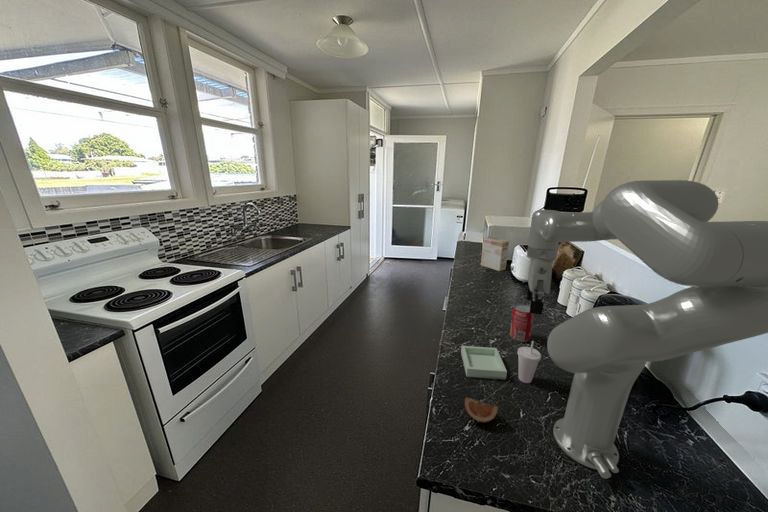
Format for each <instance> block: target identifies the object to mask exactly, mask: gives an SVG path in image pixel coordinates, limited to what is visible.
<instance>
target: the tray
mask: <svg viewBox="0 0 768 512" xmlns="http://www.w3.org/2000/svg"><path fill="white" fill-rule="evenodd" d="M460 348H461V349H460V354H461V358H462V363H463V368H464V371H465V376H466V377H468V378H481V379H491V380H492V379H493V380H507V375H508V374H507V373H508V371H507V369H506V366H505V364H504V362H503V359H502V357H501V354H500V353H499V349H498V348H497V347H486V346H485V347H483V346H470V345H461V347H460Z"/></svg>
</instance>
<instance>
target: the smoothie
mask: <svg viewBox="0 0 768 512" xmlns="http://www.w3.org/2000/svg"><path fill="white" fill-rule="evenodd" d="M534 343H535V341H534V340H531V344H530V346H521V347H518V349H517V353H516V354H517V355H518V358H517V359H518V373H517V374H518V377H517V378H518V380H520V382H521V383H524V384H531V383H532V382H533V378H534V375H535V372H536V370H537V367H538V365H539V362H540V361H541V360H542V354H541V353H540V352H539V351H538V350H537V349H536V348H534Z"/></svg>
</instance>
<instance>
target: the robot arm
mask: <svg viewBox="0 0 768 512" xmlns="http://www.w3.org/2000/svg"><path fill="white" fill-rule="evenodd" d="M718 199H719V198H718V196H717V194H716V193H715V191H714V190H713V189H712V188H710V187H709V186H707V185H706V184H704V183H700V182H697V181H693V180H687V179H685V180H684V179H674V180H673V179H668V180H664V179H663V180H662V179H660V180H657V179H656V180H653V179H652V180H651V179H649V180H633V181H629V182H625V183H622V184H620V185H618V186H616V187H615V188H613V189H612V190H610V191H609V192H608V193H607V194H606V195H605V197H604V199H603V200H602V201H600V202H599V203H598V204H597V205H596V206H595V208H594V210H593V211H590V212H589V211H587V212H586V211H585V212H583V211H582V212H578V211H575V212H574V211H571V212H561V211H559V210H555V209H554V210H553V209H537V210H535V211H533V213H532V215H531V223H530V229H529V238H528V246H527V251H526V253H527V254H526V258H529V259H530V260H529V261H530V262H529V266H528V276H527V277H528V278H527V279H528V280H527V283H528V288H527V294H526V300H527V301H530V305H529V307H530V313H533V314H535V315H542V314H543V310H544V306H545V305H544V304H545V294H546V295H549V294H550V291H551V283H552V275H553V262H554V261H556V260H557V256H558V249H559V243H573V242H575V243H576V242H579V243H581V242H583V243H584V242H585V243H587V242H597V241H599V242H600V241H610V240H618V241H619V242H620V243H621V244H622V245H623V246H625V247H626V248H627V249H628V250H629V251H630V252H632V253H633V254H634V255H635V256H636V257H637V258H638V259H639V260H641V261H642V263H644V264H645V265H646V266H647V267H648V268H649V269H650V270H652V271H653V272H654V273H655V274H656V275H659V276H660V277H661V278H663V279H664V280H667V281H669V282H671V283H674V284H677V285H680V286H686V287H687V288H684V289H681V290H678V291H676V292H674V293H672V294H671V295H668V296H666V297H664V298H661V299H658V300H657V301H653V302H650V303H646V304H645V303H644V304H631V305H629V304H627V305H605V306H598V307H597V306H596V307H592V308H588V309H586V310H584V311H582V312H580V313H577V314H576V315H574V316H572V317H570V318H568V319H566V320H565V321H564V322H561V323H560V324H559V325H557V326H555V327H554V328H553V329H552V330H551V332H550V333H549V335H548V337H547V342H546V343H547V344H546V348H547V353H548V355H549V357H550V359H551V361H552V362H553V363H554V364H555V365H556V366H557V368H560V369H561V370H564V371H566V372H568V373H573V374H574V375H573V379H572V382H571V386H570V391H569V396H568V398H567V404H566V408H565V412H564V416H563V417H562V418H559V419H558V420H556V422H554V425H553V432H552V434H553V437H554V440H555V441H556V443H557V444H558V446H559V447H560V449H562V451H563V452H564V453H566V455H568V456H569V457H570V458H571V459H573V460H574V461H576V463H579V464H581V465H582V466H585V467H587V468H590V469H592V470H596V471H597V472H598V473H599V475H600V478H602V479H609V478H611V477H612V474H611V472H612V473H613V474H617V473H619V472H620V470H619V468H618V466H617V465H618V463H619V461H620V460H619V459H620V454H619V450H618V448H617V446H616V445H615V440H616V437H617V434H618V431H619V426H620V424H621V422H622V421H621V420H622V417H623V416H624V415H623V414H624V412H625V408H626V404H627V402H628V399H629V397H630V396H629V395H630V393H631V390H632V388H633V386H634V384H635V382H636V381H637V379H638V378H639V376H640V374H641V373H642V371H643V370H644V368H645V367H646V365H647V363H651V362H661V361H666V360H668V361H669V360H672V359H675V358H678V357H682V356H684V355H688V354H693V353H697V352H701V351H704V350H709V349H713V348H717V347H719V346H723V345H727V344H731V343H735V342H740V341H742V340H746V339H750V338H755V337H758V336H762V335H765V334H766V335H767V334H768V220H744V221H743V220H741V221H740V220H739V221H738V220H737V221H736V220H735V221H734V220H733V221H710V220H711V219H713V217H714V216H715V215H716V213H717V211H718V209H719V200H718ZM610 471H611V472H610Z"/></svg>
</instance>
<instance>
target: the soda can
mask: <svg viewBox="0 0 768 512" xmlns="http://www.w3.org/2000/svg"><path fill="white" fill-rule="evenodd" d="M511 316H512V317H511V323H510V332H509V335H510V336H509V337H511V339H513V340H514V341H516V342H519V343H527V342H529V341H530V339H531V336H532V335H531V334H532V329H533V321H534V316H535V315H534V314H533V313H530V305H526V304H521V303H520V304H516V305H515V306H514V308H513V309H512V314H511Z"/></svg>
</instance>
